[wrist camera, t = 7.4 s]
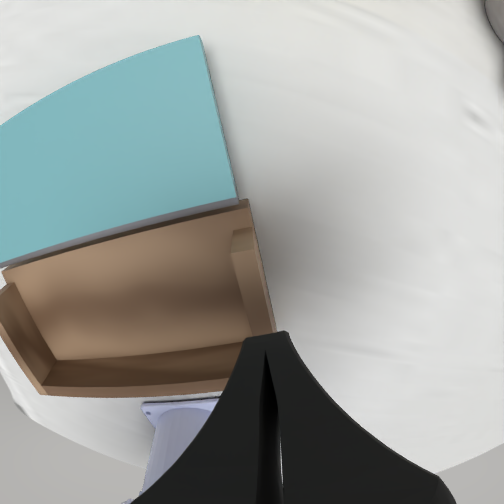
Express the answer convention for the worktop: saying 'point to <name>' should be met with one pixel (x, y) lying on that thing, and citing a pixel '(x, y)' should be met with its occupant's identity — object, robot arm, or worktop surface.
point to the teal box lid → (114, 154)
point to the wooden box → (140, 308)
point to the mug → (496, 16)
